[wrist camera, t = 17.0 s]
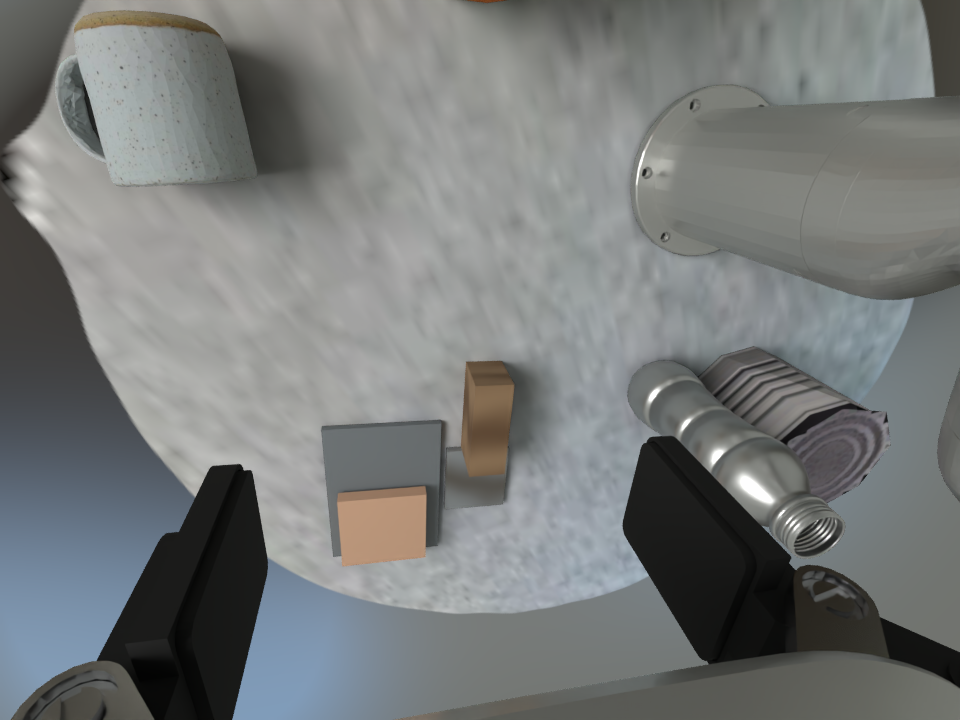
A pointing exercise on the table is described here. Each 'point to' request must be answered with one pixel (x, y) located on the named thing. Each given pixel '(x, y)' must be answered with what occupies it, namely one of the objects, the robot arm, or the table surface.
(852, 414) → the ribbed tin
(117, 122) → the ceramic mug
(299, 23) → the table surface
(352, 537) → the tile
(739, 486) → the silver bottle
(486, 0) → the reusable coffee cup
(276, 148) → the table surface
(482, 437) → the tall brown block
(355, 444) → the mat
